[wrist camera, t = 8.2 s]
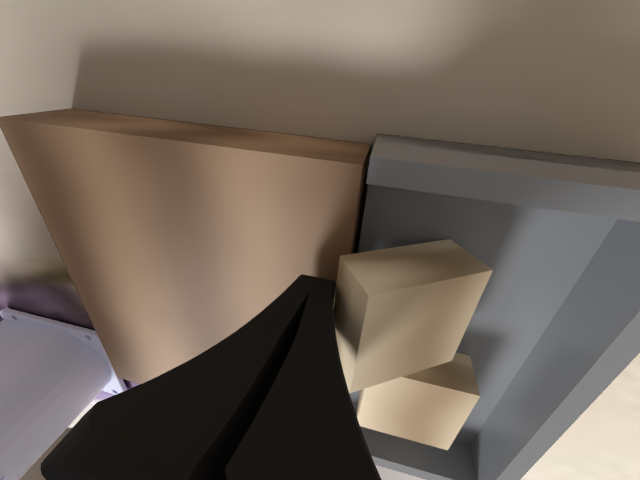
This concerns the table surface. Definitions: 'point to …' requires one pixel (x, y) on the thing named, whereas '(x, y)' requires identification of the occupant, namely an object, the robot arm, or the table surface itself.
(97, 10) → the table surface
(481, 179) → the slate bin
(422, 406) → the tile
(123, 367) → the walnut board
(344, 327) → the tile
